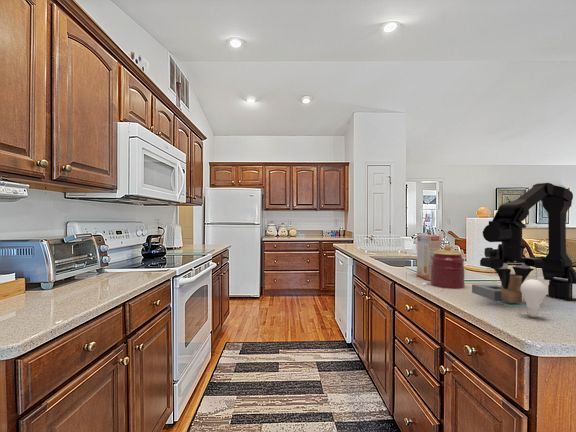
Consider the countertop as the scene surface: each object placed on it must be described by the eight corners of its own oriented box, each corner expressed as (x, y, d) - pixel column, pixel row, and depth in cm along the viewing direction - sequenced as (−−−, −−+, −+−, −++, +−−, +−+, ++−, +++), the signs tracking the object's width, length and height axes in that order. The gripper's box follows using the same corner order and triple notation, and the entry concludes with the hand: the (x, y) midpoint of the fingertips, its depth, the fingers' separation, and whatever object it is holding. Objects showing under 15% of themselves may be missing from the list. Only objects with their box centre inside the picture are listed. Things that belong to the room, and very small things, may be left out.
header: (496, 293, 127) (496, 284, 127) (521, 301, 115) (521, 291, 115) (471, 293, 126) (472, 284, 126) (494, 301, 114) (494, 291, 114)
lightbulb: (547, 321, 92) (548, 282, 92) (520, 318, 95) (521, 279, 95) (544, 316, 97) (545, 279, 97) (519, 313, 100) (519, 276, 100)
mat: (512, 302, 113) (512, 300, 113) (529, 308, 106) (529, 306, 106) (493, 302, 112) (493, 300, 112) (509, 308, 105) (509, 306, 105)
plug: (512, 299, 111) (512, 273, 111) (522, 302, 107) (522, 276, 107) (500, 299, 111) (500, 274, 111) (510, 302, 107) (510, 276, 107)
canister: (436, 289, 133) (436, 245, 133) (426, 283, 146) (426, 243, 146) (470, 290, 131) (470, 246, 131) (457, 284, 144) (457, 243, 144)
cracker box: (441, 281, 151) (441, 235, 151) (427, 281, 151) (428, 235, 151) (428, 275, 165) (428, 234, 165) (416, 275, 165) (416, 233, 165)
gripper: (518, 240, 118) (518, 283, 118) (469, 239, 116) (469, 284, 116) (545, 242, 107) (545, 290, 107) (492, 242, 105) (491, 291, 105)
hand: (511, 288), depth 109 cm, fingers closed on plug, 4 cm apart
